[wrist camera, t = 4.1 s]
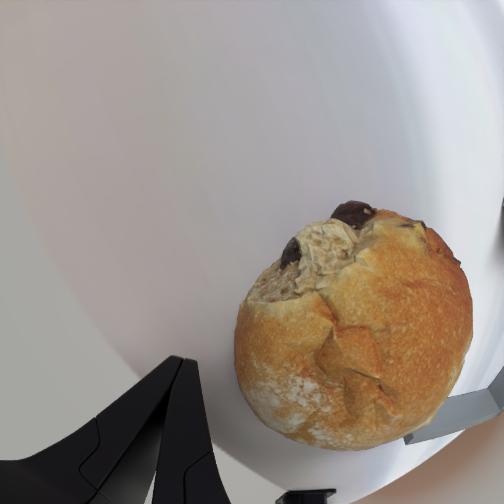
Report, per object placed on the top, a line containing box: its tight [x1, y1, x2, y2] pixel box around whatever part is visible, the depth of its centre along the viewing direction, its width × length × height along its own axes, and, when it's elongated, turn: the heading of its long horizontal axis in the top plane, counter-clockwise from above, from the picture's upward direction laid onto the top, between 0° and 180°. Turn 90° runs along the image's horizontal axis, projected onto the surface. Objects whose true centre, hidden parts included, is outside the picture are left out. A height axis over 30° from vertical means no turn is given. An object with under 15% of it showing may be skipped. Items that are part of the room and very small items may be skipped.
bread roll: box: [234, 201, 473, 451], centre depth 9 cm, size 10×10×8 cm
